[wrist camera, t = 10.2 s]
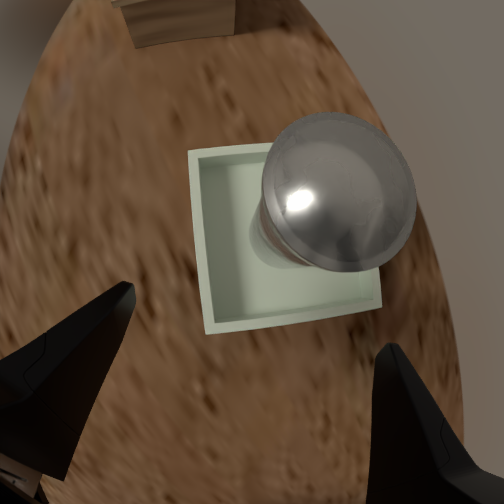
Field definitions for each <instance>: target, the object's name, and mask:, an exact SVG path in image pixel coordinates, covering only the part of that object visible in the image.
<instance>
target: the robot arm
mask: <svg viewBox="0 0 504 504" xmlns="http://www.w3.org/2000/svg"><path fill="white" fill-rule="evenodd" d="M135 304H136V295H135V288H134V285H133V284H132V283H129V282H126V281H121V282H120V283H118V284H117V285H115V286H113V287H112V288H110V289H109V290H107V291H106V292H104V293H103V294H101V295H100V296H98V297H96V298H95V299H93V300H92V301H90V302H89V303H87V304H86V305H84V306H83V307H81V308H80V309H78V310H77V311H75V312H74V313H72V314H71V315H69V316H68V317H66V318H65V319H64V320H62V321H61V322H59V323H58V324H56V325H55V326H53V327H52V328H50V329H49V330H48V331H47V332H45V333H43V334H42V335H40V336H39V337H37V338H36V339H34V340H33V341H31V342H30V343H28V344H27V345H25V346H24V347H22V348H20V349H19V350H17V351H15V352H13V353H12V354H10V355H8V356H6V357H5V358H3V359H1V360H0V504H49V502H48V500H47V498H46V496H45V493H44V491H43V489H42V487H41V484H40V479H41V477H42V474H45V475H48V476H50V477H53V478H55V479H58V480H61V481H64V479H65V477H66V474H67V471H68V468H69V465H70V463H71V460H72V457H73V455H74V452H75V449H76V447H77V444H78V441H79V439H80V436H81V433H82V431H83V428H84V426H85V424H86V421H87V419H88V416H89V414H90V411H91V409H92V407H93V404H94V402H95V400H96V397H97V395H98V393H99V391H100V388H101V386H102V384H103V382H104V380H105V377H106V375H107V373H108V371H109V369H110V366H111V364H112V362H113V360H114V358H115V356H116V354H117V352H118V350H119V348H120V345H121V343H122V341H123V338H124V335H125V332H126V329H127V327H128V324H129V321H130V318H131V316H132V313H133V310H134V308H135ZM366 504H504V479H503V478H501V477H498V476H496V475H493V474H491V473H488V472H486V471H484V470H482V469H480V468H479V467H478V466H477V465H476V464H475V463H474V461H473V460H472V458H471V457H470V455H469V454H468V452H467V451H466V449H465V448H464V447H463V445H462V444H461V442H460V441H459V439H458V438H457V436H456V435H455V433H454V432H453V430H452V428H451V427H450V425H449V423H448V422H447V420H446V418H445V417H444V415H443V413H442V412H441V410H440V408H439V407H438V405H437V403H436V402H435V400H434V399H433V397H432V395H431V394H430V392H429V390H428V389H427V387H426V386H425V384H424V383H423V381H422V379H421V378H420V376H419V375H418V373H417V372H416V370H415V369H414V367H413V366H412V364H411V362H410V361H409V359H408V358H407V356H406V355H405V353H404V352H403V350H402V349H401V347H400V346H399V345H398V344H396V343H387V344H386V345H385V346H384V347H383V348H382V349H381V351H380V352H379V353H378V354H377V356H376V358H375V368H374V380H373V390H372V424H371V449H370V465H369V478H368V488H367V496H366Z"/></svg>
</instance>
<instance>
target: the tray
mask: <svg viewBox="0 0 504 504" xmlns="http://www.w3.org/2000/svg"><path fill="white" fill-rule="evenodd" d="M272 144H273V143H261V144H247V145H235V146H224V147H214V148H205V149H197V150H189V151H188V162H189V178H190V193H191V206H192V218H193V229H194V240H195V250H196V260H197V269H198V278H199V287H200V295H201V303H202V311H203V318H204V326H205V333H206V334H216V333H225V332H234V331H243V330H251V329H259V328H266V327H273V326H280V325H287V324H294V323H300V322H306V321H313V320H319V319H324V318H330V317H336V316H341V315H346V314H352V313H357V312H362V311H367V310H372V309H376V308H381V307H382V297H381V286H380V276H379V266H378V267H376V268H373V269H370V270H367V271H361V272H350V273H343V272H332V271H326V270H323V269H320V268H317V267H314V266H312V267H301V268H291V269H278V268H274V267H271V266H269V265H267V264H265V263H264V262H262V261H261V260H260V259H259V258H258V257H257V256H256V254H255V253H254V251H253V249H252V247H251V245H250V241H249V226H250V222H251V220H252V217H253V215H254V212H255V210H256V208H257V205H258V203H259V200H260V198H261V196H262V194H261V178H262V172H263V168H264V165H265V161H266V158H267V155H268V152H269V150H270V148H271V146H272Z"/></svg>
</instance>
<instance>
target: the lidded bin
mask: <svg viewBox="0 0 504 504" xmlns="http://www.w3.org/2000/svg"><path fill="white" fill-rule="evenodd" d="M111 3H112V5H113V8H117V7H120V8H121V11H122V13H123V16H124V19H125V22H126V24H127V27H128V30H129V32H130V35H131V38H132V41H133V43H134V46H135V48H141V47H146V46H150V45H156V44H161V43H167V42H173V41H180V40H187V39H195V38H204V37H214V36H228V35H234V25H235V4H236V0H112V1H111Z"/></svg>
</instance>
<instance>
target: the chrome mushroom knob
mask: <svg viewBox="0 0 504 504" xmlns="http://www.w3.org/2000/svg"><path fill="white" fill-rule="evenodd" d="M261 194H262V196H261V198H260V200H259V203H258V205H257V208H256V210H255V212H254V215H253V217H252V220H251V222H250V226H249V241H250V245H251V247H252V249H253V251H254V253H255V254H256V256H257V257H258V258H259V259H260V260H261V261H262V262H264V263H265V264H267V265H269V266H271V267H274V268H278V269H291V268H301V267H312V266H314V267H317V268H320V269H323V270H326V271H332V272H343V273H350V272H361V271H367V270H370V269H373V268H376V267H378V266H380V265H382V264H384V263H386V262H387V261H389V260H390V259H391V258H392V257H394V256H395V255H396V254H397V253H398V252H399V251H400V249H401V248H402V247H403V246H404V244H405V242H406V241H407V239H408V237H409V235H410V233H411V231H412V228H413V225H414V221H415V216H416V205H417V198H416V189H415V184H414V180H413V177H412V174H411V171H410V168H409V166H408V164H407V162H406V160H405V158H404V157H403V155H402V153H401V152H400V151H399V149H398V148H397V146H396V145H395V144H394V143H393V142H392V141H391V139H390V138H389V137H388V136H386V135H385V134H384V133H383V132H382V131H381V130H379V129H378V128H377V127H375V126H374V125H372V124H370V123H368V122H367V121H365V120H363V119H360V118H358V117H355V116H352V115H349V114H344V113H338V112H322V113H316V114H311V115H308V116H305V117H303V118H300V119H298V120H297V121H295V122H293V123H292V124H290V125H289V126H288V127H286V128H285V129H284V130H283V131H282V132H281V133H280V134H279V135H278V137H277V138H276V140H275V141H274V143H273V144H272V146H271V148H270V150H269V152H268V155H267V158H266V161H265V165H264V168H263V172H262V178H261Z"/></svg>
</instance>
